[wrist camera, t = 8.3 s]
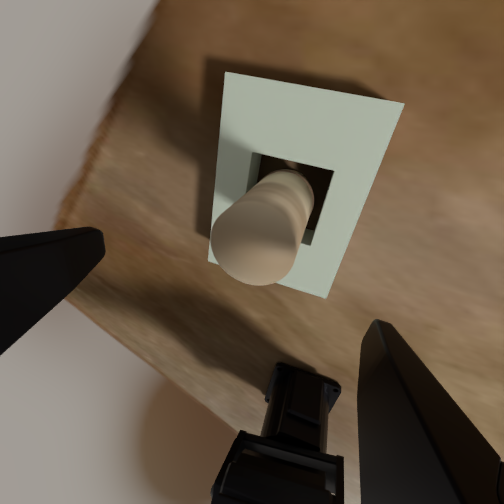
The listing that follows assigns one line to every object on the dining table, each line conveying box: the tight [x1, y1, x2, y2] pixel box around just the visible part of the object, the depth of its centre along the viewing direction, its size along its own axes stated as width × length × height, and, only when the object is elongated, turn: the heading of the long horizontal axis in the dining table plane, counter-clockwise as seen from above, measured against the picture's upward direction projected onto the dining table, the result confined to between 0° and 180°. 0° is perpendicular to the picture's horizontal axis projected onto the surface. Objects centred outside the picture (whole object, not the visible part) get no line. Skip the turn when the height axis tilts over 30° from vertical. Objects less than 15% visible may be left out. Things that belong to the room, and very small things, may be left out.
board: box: [208, 72, 405, 299], centre depth 17 cm, size 12×9×2 cm
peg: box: [210, 169, 314, 285], centre depth 14 cm, size 4×4×9 cm
